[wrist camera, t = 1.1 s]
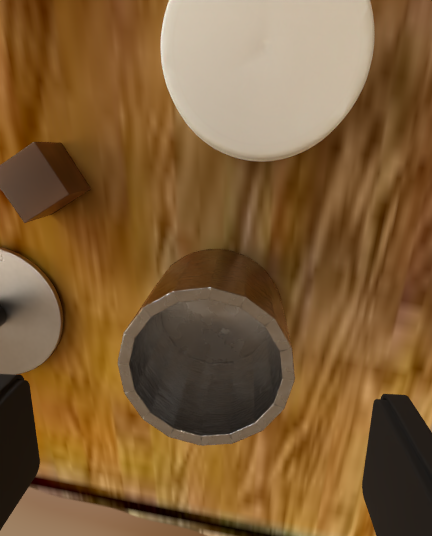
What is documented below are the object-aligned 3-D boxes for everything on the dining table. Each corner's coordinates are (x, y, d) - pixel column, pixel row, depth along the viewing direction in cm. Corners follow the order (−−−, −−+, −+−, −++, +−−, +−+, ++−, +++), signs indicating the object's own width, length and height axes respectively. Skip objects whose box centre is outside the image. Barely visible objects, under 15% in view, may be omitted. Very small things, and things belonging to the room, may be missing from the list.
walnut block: (20, 169, 34) (-11, 172, 30) (61, 142, 33) (34, 141, 29) (51, 214, 35) (24, 223, 31) (91, 189, 34) (69, 194, 30)
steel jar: (129, 287, 37) (85, 339, 26) (240, 224, 34) (238, 256, 24) (195, 386, 39) (177, 468, 29) (303, 334, 37) (324, 404, 27)
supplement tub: (345, 108, 31) (426, 73, 17) (245, 183, 33) (244, 207, 19) (273, -5, 29) (296, -148, 15) (173, 82, 31) (112, 27, 17)
